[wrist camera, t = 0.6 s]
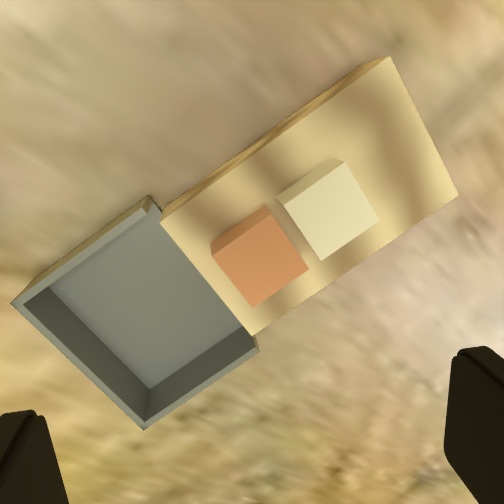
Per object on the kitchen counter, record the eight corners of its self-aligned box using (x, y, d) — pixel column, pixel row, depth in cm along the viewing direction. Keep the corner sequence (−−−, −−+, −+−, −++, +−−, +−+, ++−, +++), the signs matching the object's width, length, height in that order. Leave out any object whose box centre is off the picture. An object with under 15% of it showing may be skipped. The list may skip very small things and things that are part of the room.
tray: (148, 194, 35) (141, 207, 30) (251, 323, 40) (259, 351, 35) (34, 278, 36) (10, 303, 31) (149, 393, 41) (143, 430, 36)
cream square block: (331, 157, 31) (345, 161, 28) (363, 211, 32) (379, 220, 30) (275, 197, 31) (283, 205, 28) (310, 248, 33) (321, 261, 30)
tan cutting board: (362, 63, 34) (389, 55, 29) (425, 184, 38) (458, 194, 33) (163, 208, 35) (159, 222, 30) (244, 309, 39) (251, 336, 34)
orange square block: (264, 204, 31) (271, 214, 28) (299, 255, 33) (309, 269, 30) (209, 243, 32) (211, 256, 29) (247, 291, 33) (252, 308, 30)
